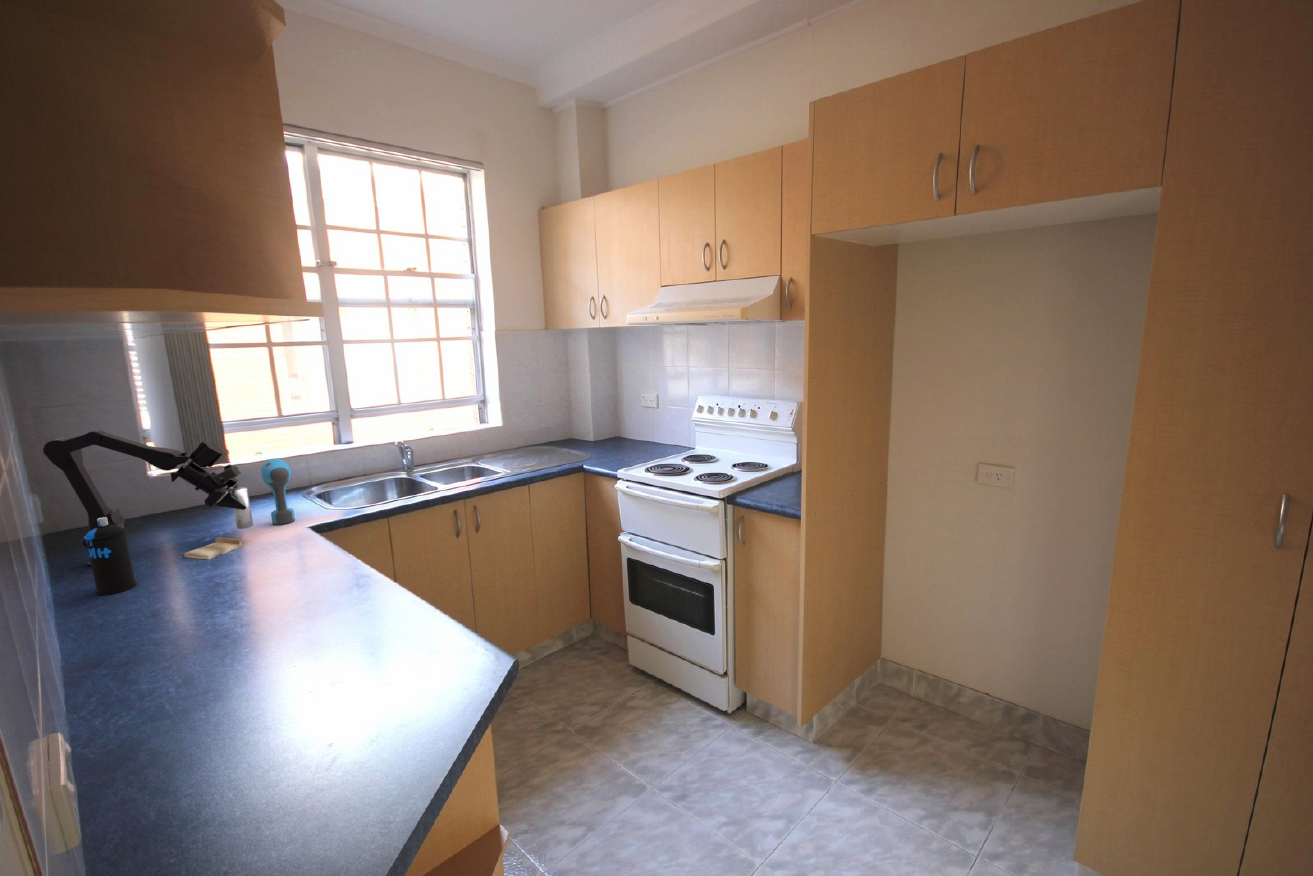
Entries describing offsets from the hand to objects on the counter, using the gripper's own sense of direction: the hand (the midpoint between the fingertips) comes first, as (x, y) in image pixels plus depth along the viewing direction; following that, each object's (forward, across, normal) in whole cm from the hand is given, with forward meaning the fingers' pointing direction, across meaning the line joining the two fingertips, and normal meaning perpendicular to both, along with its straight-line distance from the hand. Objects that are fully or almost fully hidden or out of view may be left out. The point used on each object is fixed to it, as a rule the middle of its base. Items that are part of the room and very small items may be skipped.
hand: (246, 506), depth 191 cm
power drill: (+12, +22, +5) cm, 26 cm away
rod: (+4, 0, +6) cm, 7 cm away
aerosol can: (-10, -28, +27) cm, 40 cm away
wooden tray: (+2, -7, +15) cm, 17 cm away
